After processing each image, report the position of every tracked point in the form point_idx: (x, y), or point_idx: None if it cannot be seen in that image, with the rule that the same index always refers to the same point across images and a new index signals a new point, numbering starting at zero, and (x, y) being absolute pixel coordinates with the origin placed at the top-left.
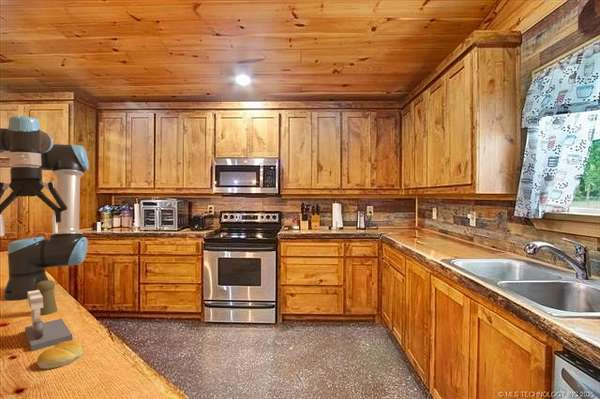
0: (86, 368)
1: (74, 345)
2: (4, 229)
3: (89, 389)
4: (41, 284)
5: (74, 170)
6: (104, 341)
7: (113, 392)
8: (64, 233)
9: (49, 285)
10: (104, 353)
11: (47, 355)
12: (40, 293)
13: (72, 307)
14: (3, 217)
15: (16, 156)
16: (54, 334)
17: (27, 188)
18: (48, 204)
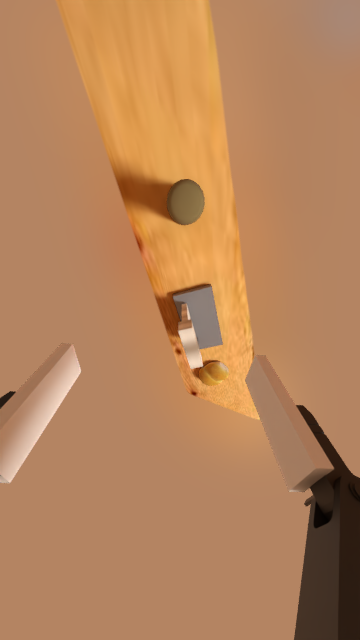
0: (228, 387)
1: (224, 379)
2: (56, 362)
3: (228, 406)
4: (180, 220)
5: None
6: (246, 356)
7: (238, 412)
8: None
9: (195, 220)
10: (242, 375)
11: (206, 384)
12: (197, 349)
13: (225, 200)
14: (5, 434)
15: None
16: (207, 336)
17: None
18: (310, 604)
